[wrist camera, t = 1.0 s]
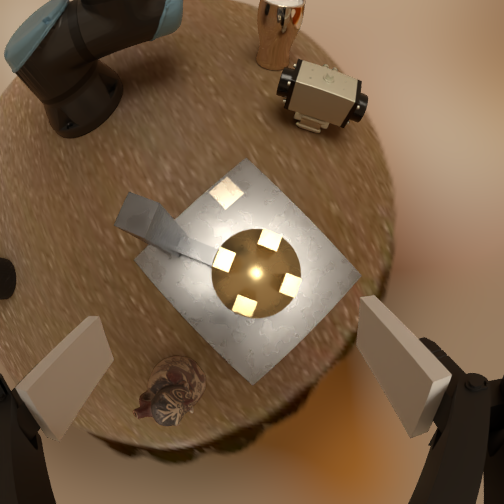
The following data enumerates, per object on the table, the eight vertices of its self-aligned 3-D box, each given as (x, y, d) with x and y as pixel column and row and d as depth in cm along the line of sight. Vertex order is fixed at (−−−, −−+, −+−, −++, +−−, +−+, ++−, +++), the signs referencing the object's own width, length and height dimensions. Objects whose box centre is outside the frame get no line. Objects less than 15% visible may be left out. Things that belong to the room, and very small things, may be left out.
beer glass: (273, 45, 42) (283, -14, 27) (299, 64, 41) (316, 3, 27) (245, 57, 41) (249, -6, 26) (271, 77, 41) (282, 11, 26)
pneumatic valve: (342, 147, 39) (373, 103, 27) (269, 123, 39) (280, 70, 27) (346, 121, 40) (374, 76, 28) (278, 98, 40) (290, 46, 28)
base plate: (138, 261, 35) (133, 259, 33) (245, 163, 38) (246, 157, 36) (252, 380, 34) (252, 385, 32) (355, 276, 37) (362, 275, 35)
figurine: (206, 404, 33) (195, 448, 21) (156, 400, 33) (128, 439, 21) (205, 356, 34) (190, 386, 22) (153, 353, 34) (119, 378, 22)
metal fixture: (147, 274, 33) (97, 265, 20) (177, 201, 34) (147, 155, 21) (278, 327, 33) (304, 350, 20) (306, 251, 34) (346, 229, 21)
